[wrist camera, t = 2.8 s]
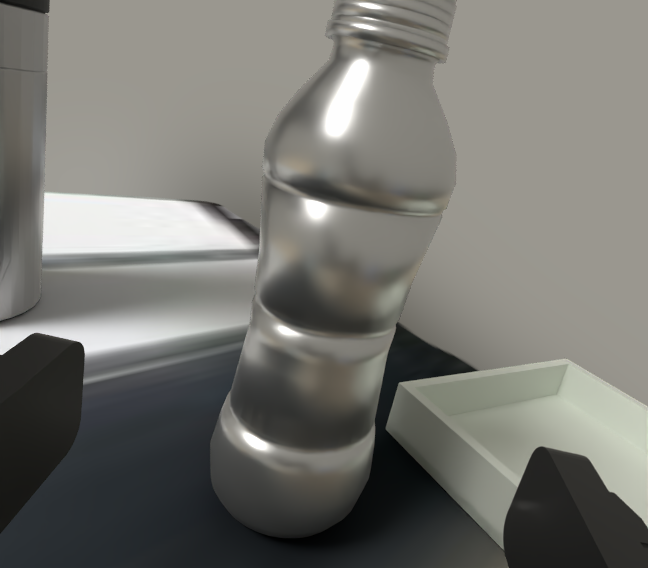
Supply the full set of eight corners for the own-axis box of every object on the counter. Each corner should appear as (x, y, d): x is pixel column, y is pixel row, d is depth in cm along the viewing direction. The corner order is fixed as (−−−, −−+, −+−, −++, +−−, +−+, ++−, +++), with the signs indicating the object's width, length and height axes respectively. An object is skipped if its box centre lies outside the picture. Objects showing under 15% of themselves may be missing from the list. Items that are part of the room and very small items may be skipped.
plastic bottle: (196, 452, 25) (269, -31, 18) (332, 449, 27) (443, 19, 20) (208, 571, 19) (322, -67, 12) (379, 555, 21) (555, 8, 15)
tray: (385, 429, 30) (399, 382, 29) (551, 395, 38) (566, 358, 37) (743, 795, 16) (793, 731, 15) (884, 619, 24) (923, 569, 23)
